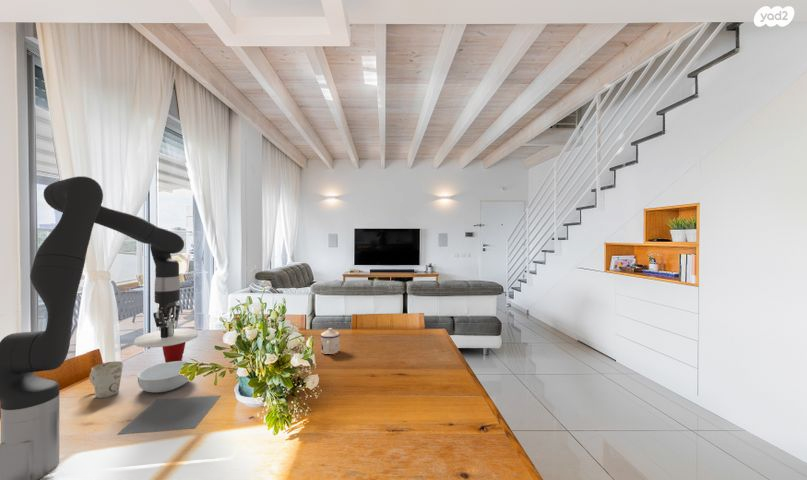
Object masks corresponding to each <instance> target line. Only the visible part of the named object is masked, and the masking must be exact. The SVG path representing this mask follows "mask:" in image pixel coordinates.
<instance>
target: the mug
mask: <svg viewBox="0 0 807 480" xmlns="http://www.w3.org/2000/svg"><path fill="white" fill-rule="evenodd" d="M123 366H124V362H123V361H120V360H119V361H116V360H115V361H107V362H103V363H99V364H96V365H94V366H93V367H91V371H90V373H89V377H88V378H89V381H90V383H91V384H92V386H93V389H94V394H95V397H96V398H99V399H101V398H102V399H103V398H108V397H112V396H115V395H116V394H118V393H119V391H120V386H121V379H122V373H123Z"/></svg>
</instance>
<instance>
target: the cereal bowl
mask: <svg viewBox="0 0 807 480" xmlns="http://www.w3.org/2000/svg"><path fill="white" fill-rule="evenodd" d="M185 363H192V364H193V362H191V361H187V360H182V361H174V362H167V363H166V362H163V363H159V364H156V365H152V366H150V367H147V368H145V369H143V370H142V371H140V372H139V373H138V375H137V384H138V387H139V388H140V389H141V390H143V391H145V392H148V393H165V392H170V391H173V390H175V389H178V388H179V387H180V388H181V386H183V385H185V384H186V383H187V382H188V381H189V380H188V378H187V377H184V376H183V375H180V374H179V372H180V369H181V367H182V365H183V364H185ZM193 365H194V364H193Z"/></svg>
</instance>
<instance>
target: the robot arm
mask: <svg viewBox="0 0 807 480" xmlns="http://www.w3.org/2000/svg"><path fill="white" fill-rule="evenodd" d="M43 198H44V200H45V202H46V204H47V205H49V206H50V208H52V209H53V210H56V211H58V212H60V213H62V214H61V216H60V219H59V221H58V223H57V224H56V225H55V227H54V228H53V229H52V231H50V233H49V234H48V235H47V237H46V238H45V239H44V240H43V242H42V243H41V245H40V246H39V247H38V248H37V251H36V254H35V256H34V259H33V263H32V267H31V271H30V275H29V277H30V282H31V284H32V286H33V288H34V290H35V291H36V293H37V295H38V296H39V297H40V299H41V301H42V302H43V303H44V306H45V309H46V312H47V318H46V319H47V321H46V328H45V330H39V331H38V330H37V331H24V332H23V331H22V332H14V333H13V332H12V333H11V334H8V335H6V336H4V337H3V338H2V339H1V340H0V480H39V479H41V478H44V477H46V476H48V475H49V474H50V473H51V472H52V471H53V470H54V469H56V468H57V466H59V464H60V384H59V382H58V381H56V380H52V379H48V378H43V377H40V376H38V375H37V374H35V373H37V372H45V371H53V370H57V369H58V368H60V367H61V366H62V365H63V364H64V362H65V361H66V358H67V356H68V352H69V348H70V345H71V336H72V331H73V320H74V312H75V305H76V301H77V300H76V299H77V297H78V296H77V295H78V290H79V287H80V284H81V279H82V276H83V273H84V267H85V263H86V259H87V257H86V256H87V252H88V248H89V243H90V240H91V237H92V232H93V229H94V226H95V225H94V224H97V225H100V226H103V227H106V228H107V229H111V230H113V231H116V232H118V233H120V234H123V235H125V236H127V237H129V238H130V239H131V238H132V239H133V240H135V241H138V242H139V243H143V244H147V245H149V249H150V253H151V256H152V259H153V263H154V267H155V269H154V270H155V271H154V272H155V273H154V274H155V277H154V278H155V279H154V304H155V303H156V304H158V309H157V310H158V311H156V312H153V314H152V315H153V319H154V323H155V326H156V328H160V331H161V338H167V337H168V325H169V321H173V334H174V329H175V327H174V326H175V324H176V322H178V319H179V314H180V308H181V305H180V304H177V302H179V301H180V299H181V287H180V286H181V283H180V282H181V281H180V263H179V262H178V261H177V260H175V259H173V258H172V255H174V254H179V253H180V252H181V251H182V250H183V249H184V247H185V242H184V240H183V238H182V237H181V236H180V235H179V234H178V233H175V232H173V231H170V230H168V229H165V228H162V227H159V226H156V225H155V224H153V223H151V222H150V221H147V220H146V219H144V218H142V217H141V216H138V215H135V214H134V213H133V214H132V213H130V212H129V213H128V212H126V211H122V210H118V209H114V208H110V207H108V206H105V205H102V203H103V200H104V193H103V189H102V186H101V185H100V184H99V182H98V181H96V179H95V178H92V177H89V176H83V175H81V176H74V177H69V178H65V179H61V180H58V181H54V182H52V183H49V184H48V185H47V186H46V187H45V188H44V190H43ZM165 322H166V323H165Z"/></svg>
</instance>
